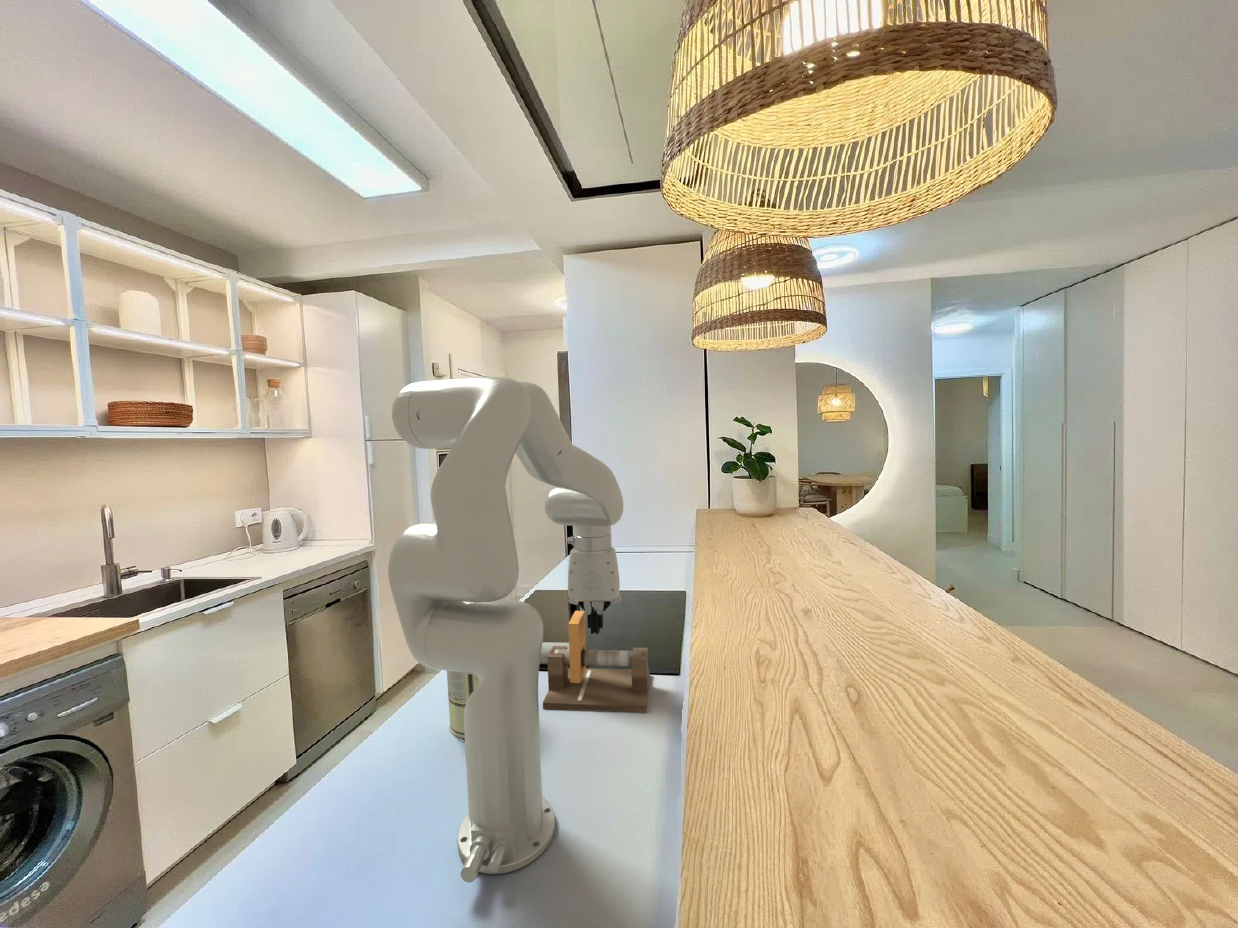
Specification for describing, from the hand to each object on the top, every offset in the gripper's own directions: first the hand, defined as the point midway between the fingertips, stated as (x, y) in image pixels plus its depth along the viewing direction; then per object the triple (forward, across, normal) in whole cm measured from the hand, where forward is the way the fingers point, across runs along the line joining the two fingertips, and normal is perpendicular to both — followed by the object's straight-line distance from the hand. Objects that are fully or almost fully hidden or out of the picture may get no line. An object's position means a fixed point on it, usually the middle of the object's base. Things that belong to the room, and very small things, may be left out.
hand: (595, 631), depth 99 cm
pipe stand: (+13, 0, 0) cm, 13 cm away
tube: (+13, -17, +12) cm, 25 cm away
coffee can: (+13, -21, -12) cm, 27 cm away
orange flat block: (+9, -4, 0) cm, 10 cm away
